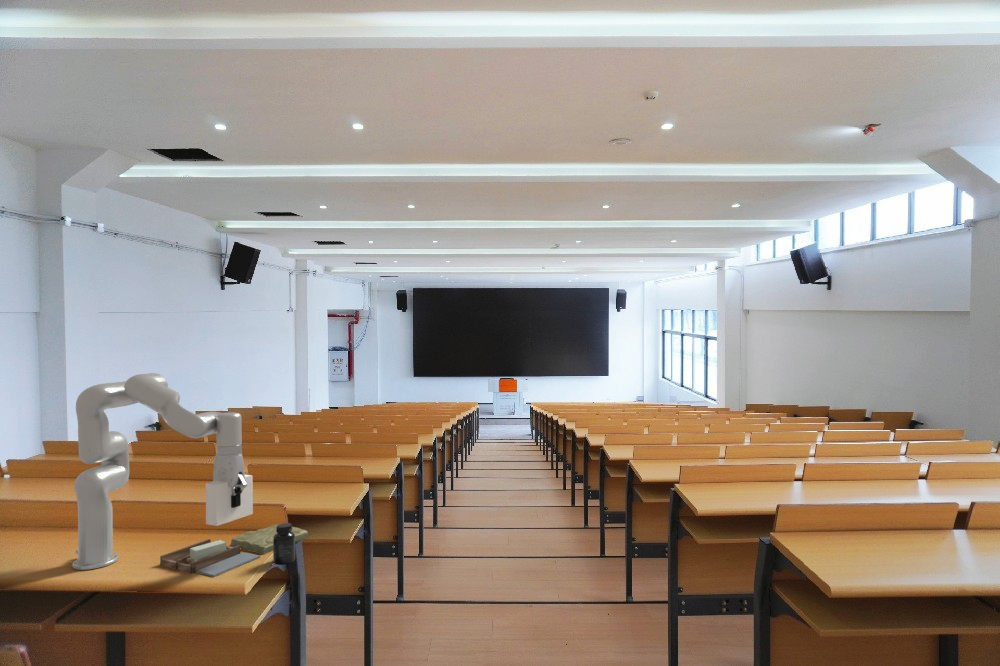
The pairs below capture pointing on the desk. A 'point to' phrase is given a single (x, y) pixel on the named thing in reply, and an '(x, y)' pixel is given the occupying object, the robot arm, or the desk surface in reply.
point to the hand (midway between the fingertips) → (229, 505)
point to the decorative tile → (263, 539)
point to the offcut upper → (207, 549)
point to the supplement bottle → (284, 544)
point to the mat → (228, 564)
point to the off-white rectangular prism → (227, 502)
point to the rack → (180, 561)
